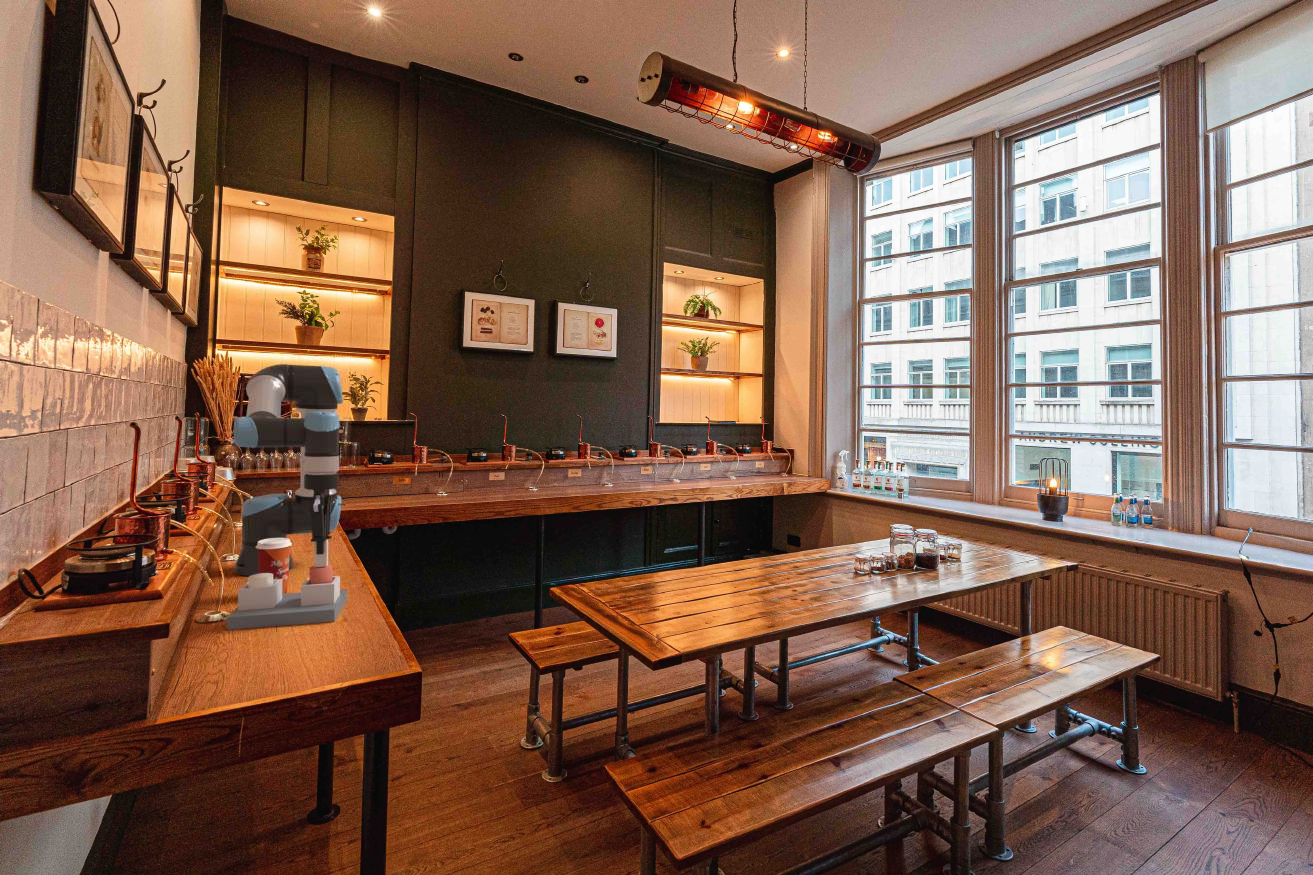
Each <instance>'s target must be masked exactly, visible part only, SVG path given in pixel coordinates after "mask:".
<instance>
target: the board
mask: <svg viewBox="0 0 1313 875" xmlns="http://www.w3.org/2000/svg"><path fill="white" fill-rule="evenodd" d="M347 601H348V590H347V589H341V576H340V575H332V583H328V584H311V585H310V577H307V579H306V580H305V581H304V582H303V583H302V584H301V586H300V592H291V593H290V592H287V593H285V594H282V579H277V580H273V585H272V586H271V587H261V588H248V581H247V582H246V583H244V585H242V586H241V587H239V589H238V590H237V607H236V608H235V609H234V610H233V611H231V613H230V614H228V615H227V616H226V631H232V630H244V629H245V630H246V629H257V628H259V629H260V628H271V627H282V626H294V625H310V624H321V623H331V622H332V623H333V622H335V621H336V620H337V618H338V616H339V614H340V613H341V611H342V609H343V608H344V606H345V605H346V603H347Z"/></svg>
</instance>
